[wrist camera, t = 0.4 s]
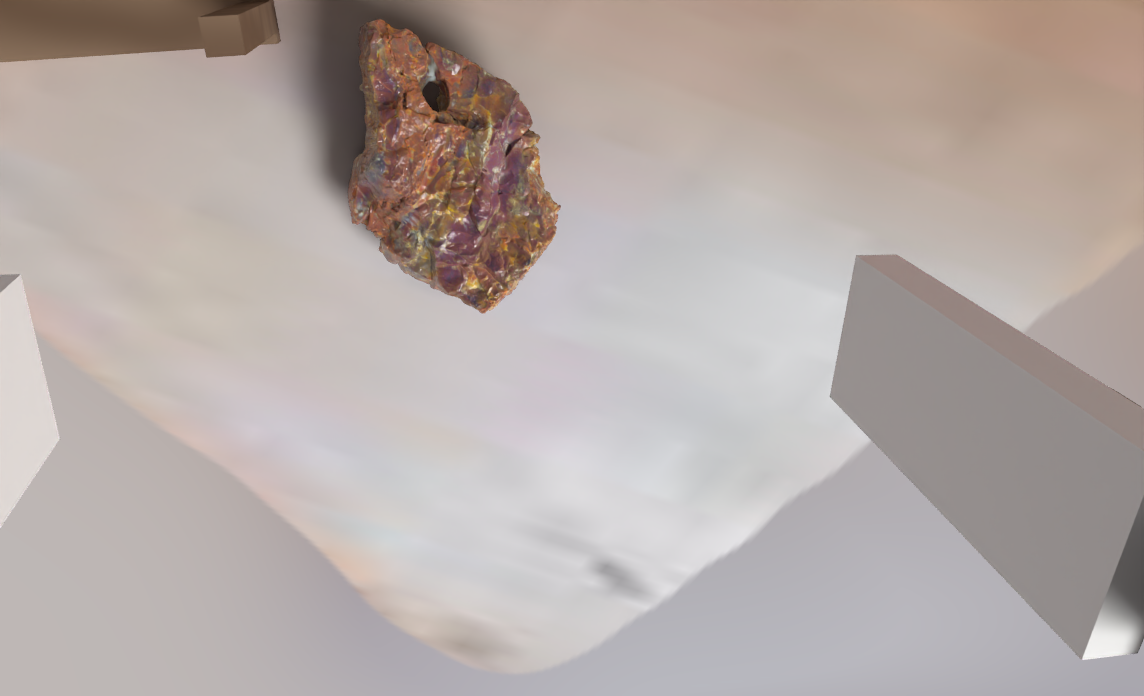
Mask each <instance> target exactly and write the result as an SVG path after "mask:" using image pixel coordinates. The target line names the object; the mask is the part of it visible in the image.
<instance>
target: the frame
mask: <svg viewBox="0 0 1144 696" xmlns="http://www.w3.org/2000/svg"><path fill="white" fill-rule="evenodd" d="M280 41H281V40H280V34H279V29H278V23H277V18H276V12H275V7H274V1H273V0H0V62H12V61H27V60H42V59H56V58H71V57H86V56H101V55H116V54H130V53H145V52H160V51H175V50H189V49H204V48H205V52H206V57H207V58H208V57H222V56H237V55H246V54H248V53H249V52H250V51H252V50H253V49H255V48H256V47H257V46H259V45H263V44H278V43H279V42H280Z"/></svg>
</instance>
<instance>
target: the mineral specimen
mask: <svg viewBox="0 0 1144 696" xmlns="http://www.w3.org/2000/svg"><path fill="white" fill-rule="evenodd" d="M358 44H359V48H360V51H361V54H360V56H359V67H360V68H361V72H362V79H363V80H362V82H363V83H362V84H361V85H360V86H359V88H360V91H362V92H364V95H365V97H364V99H365V101H366V102H365V103H366V108H365V110H366V115H365V116H364V120H365V124H366V128H367V129H366V139H365V145H366V146H365V149H364V151H363V153H361V154H360V155H358V157H356V158H355V159H354V162H353V168H352V175H351V179H350V182H349V187H348V199H349V201H348V202H349V207H350V210H351V217H352V223H353V224H357V225H358V224H360V223H363V224H365V225H366V229H367V230H371V232H373V233H374V235H375V236H376V237H377V238H381V239H380V240H381V242H380V247H379V251H380V252H382V253H383V255H384V256H385V258H386V259H387V261H389V262H390V263H392V264H397V263H398V265H399V267H400V268H401V270H402V271H403V272H404V273H405V274H409V275H411V276H412V277H414V278H415V279H417V280H420V281H423V282H425V283H427V284H430V286H431V288H433V289H436V290H440V291H442V292H444V293H445V294H447V295H451V296H455V297H458V298H460V299H461V300H462V301H463V303H465V304H467V305H469V306H472V307H473V308H475V309H477V310H478V311H479V312H480V313H482V314H484V313H486V311H488V310H489V311H490V310H492V309H493V308H494V307H496V306H497V305H498V304H499V302H501V301H502V300H503V299H504V298H505V296H506V295H510V294H511V293H512V291H513V290H515V289H516V286H517V285H518V283H519V281H520V280H522V279H523V277H524V276H525V274H526V273H527V272H528V270H529V269H530V267H532V266H533V265H534V264H535V263H536V261H537V260H538V258H539V257H540V256H541V255H542V253H543V251H545V250H546V247H547V246H548V245H549V244H550V243H551V241H552V240H553V237H554V236H555V234H556V226H555V224H556V222H557V219H558V214H557V212H558V211H559V210H560V208H561V206H560V205H558V204H557V203H555V202H554V201H553V200H552V198H551V196H550V193H549V192H547V191H545V190H544V183H543V181H542V177H541V176H540V163H539V160H540V156H539V155H538V153H539V150H538V148H537V147H536V146H535V144H536V143H538V141H539V139H540V136H539V135H538V134H535V133H534V132H533V131H530V130H529V128H530V127H531V126H532V124H533V122H532V119H531V116H530V114H529V111H528V110H527V108H526V107H525V106H524V104H523V103H522V101H521V100H520V98H519V93H518V92H517V91H516V90H514V89H513V88H512V87H511V85H510V84H509V83H507V82H506V81H505V80H502V79H498V78H497V77H494V76H492V75H491V74H489V73H487V72H486V71H484V69H483V68H480V67H479V66H478V65H477V64H476V63H473V62H470V61H469V60H468V59H466V58H464V57H463V56H462V55H459V54H457V53H456V52H455V51H450V50H447V49H446V48H443V47H441V46H439V45H437V44H434V43H432V42H429V43H427V44H426V47H425V48H424V47H423V46H422V45H421V44H422V43H421V41H420V40H419V38H418V36H417V35H416V34H414V33H413V32H412V31H410V30H408V29H406V28H404V29H401V30H399V29H395V28H393V27H391V26H390V25H389V24H388V23H386V22H385V21H384V20H381V19H376V20H374V21H370V22H367V23H366V24H365V25H364V26H362V27H361V28H360V33H359V43H358ZM429 82H433V83H435V84H436V85H437V86H438V87H439V88H440V94H439V97H438V98H436V101H437V102H438V103H437V107H438V108H439V112H437V111H434V110H432V108H431V107H430V106H429V105H428V103H427V102H426V100H425V98H424V96H423V94H422V91H423V89H424V87H425V86H426V84H427V83H429Z"/></svg>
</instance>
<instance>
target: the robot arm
mask: <svg viewBox="0 0 1144 696" xmlns="http://www.w3.org/2000/svg"><path fill="white" fill-rule="evenodd" d="M830 397H831V399H832V400H833V401H834V402H835V403H836V404H837V405H838V406H839V407H840V408H841V409H842V410H843V411H844V412H845V413H846V414H847V415H848V416H849V417H850V418H851V419H852V420H853V421H854V423H855V424H856V425H857V426H858V427H859V428H860V429H861V430H862V431H863V432H864V433H865V434H866V435H867V436H868V437H869V438H870V439H871V440H872V441H873V442H874V443H875V444H876V445H877V447H878V448H879V449H880V450H881V451H882V452H883V453H884V454H885V455H886V456H887V457H888V458H889V459H890V460H891V461H892V462H893V463H894V464H895V465H896V466H897V467H898V469H899V470H900V471H901V472H902V473H903V474H904V475H905V476H906V477H907V478H908V479H909V480H910V481H911V482H912V483H913V484H914V485H915V486H916V487H917V488H918V489H919V490H920V492H921V493H922V494H923V495H924V496H925V497H927V499H928V500H929V501H930V502H931V503H932V504H933V505H934V506H935V507H936V508H937V509H938V510H939V511H940V512H941V513H942V514H943V515H944V517H945V518H946V519H947V520H948V521H949V522H950V523H951V524H952V525H953V526H954V527H955V528H956V529H957V530H958V531H959V532H960V533H961V534H962V535H963V536H964V537H965V539H966V540H967V541H969V543H970V544H971V545H972V546H973V547H974V548H975V549H976V550H977V551H978V552H979V553H980V554H981V555H982V556H983V557H984V558H985V559H986V560H987V561H988V563H989V564H990V565H991V566H992V567H993V568H994V569H995V570H996V571H997V572H998V573H999V574H1000V575H1001V576H1002V577H1003V578H1004V579H1005V580H1006V581H1007V582H1008V583H1009V584H1010V585H1011V587H1012V588H1013V589H1014V590H1015V591H1016V592H1017V593H1018V594H1019V595H1020V596H1021V597H1022V598H1023V599H1024V600H1025V601H1026V602H1027V603H1028V604H1029V605H1030V606H1031V607H1032V609H1033V610H1034V611H1035V612H1036V613H1037V614H1038V615H1039V616H1040V617H1041V618H1042V619H1043V620H1044V621H1045V622H1046V623H1047V624H1048V625H1049V626H1050V627H1051V628H1052V629H1053V630H1054V632H1055V633H1056V634H1058V636H1059V637H1061V639H1062V640H1063V641H1064V642H1065V643H1066V644H1067V645H1068V646H1069V647H1070V648H1071V649H1072V650H1073V651H1074V652H1075V653H1076V655H1077V656H1079V658H1080V659H1081V660H1086V659H1094V658H1102V657H1110V656H1118V655H1127V654H1135V653H1138V651H1139V649H1140V646H1141V644H1142V642H1143V639H1144V409H1143V408H1142V407H1141V406H1139V405H1137V404H1136V403H1134V402H1133V401H1131V400H1129V399H1128V398H1126V397H1125V396H1123V395H1122V394H1120V393H1118V392H1117V391H1115V390H1114V389H1112V388H1110V387H1108V386H1106V385H1105V384H1103V383H1102V382H1100V381H1098V380H1097V379H1095V378H1093V377H1092V376H1090V375H1089V374H1087V373H1085V372H1084V371H1082V370H1081V369H1079V368H1077V367H1076V366H1074V365H1073V364H1071V363H1069V362H1068V361H1066V360H1065V359H1063V358H1061V357H1060V356H1058V355H1057V354H1055V353H1054V352H1052V351H1050V350H1049V349H1047V348H1046V347H1044V346H1042V345H1040V344H1039V343H1037V342H1036V341H1034V340H1033V339H1031V338H1029V337H1028V336H1026V335H1025V334H1023V333H1021V332H1020V331H1018V330H1017V329H1015V328H1013V327H1012V326H1010V325H1009V324H1007V323H1005V322H1004V321H1002V320H1001V319H999V318H997V317H996V316H994V315H993V314H991V313H989V312H988V311H986V310H985V309H983V308H981V307H980V306H978V305H977V304H975V303H973V302H972V301H970V300H969V299H967V298H965V297H964V296H962V295H961V294H959V293H957V292H956V291H954V290H953V289H951V288H949V287H948V286H946V285H945V284H943V283H941V282H940V281H938V280H937V279H935V278H933V277H932V276H930V275H929V274H927V273H925V272H924V271H922V270H921V269H919V268H917V267H916V266H914V265H913V264H911V263H909V262H908V261H906V260H905V259H903V258H901V257H900V256H898V255H857V256H856V259H855V264H854V270H853V275H852V280H851V286H850V291H849V296H848V302H847V307H846V313H845V318H844V323H843V329H842V334H841V339H840V345H839V350H838V356H837V361H836V366H835V372H834V377H833V382H832V388H831V393H830ZM59 439H60V437H59V433H58V429H57V425H56V421H55V417H54V412H53V408H52V404H51V400H50V395H49V391H48V387H47V383H46V378H45V374H44V370H43V366H42V362H41V357H40V353H39V349H38V345H37V341H36V336H35V332H34V328H33V324H32V319H31V315H30V311H29V307H28V303H27V298H26V294H25V290H24V286H23V282H22V277H21V274H15V275H0V528H1V526H2V525H3V523H4V522H5V520H6V519H7V517H8V516H9V514H10V512H11V511H12V510H13V508H14V507H15V505H16V504H17V502H18V501H19V499H20V498H21V496H22V495H23V493H24V492H25V490H26V489H27V487H28V486H29V484H30V483H31V481H32V480H33V478H34V477H35V475H36V474H37V472H38V471H39V469H40V468H41V466H42V465H43V463H44V462H45V460H46V459H47V457H48V456H49V454H50V453H51V451H52V450H53V448H54V447H55V445H56V444H57V442H58V441H59Z"/></svg>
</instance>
